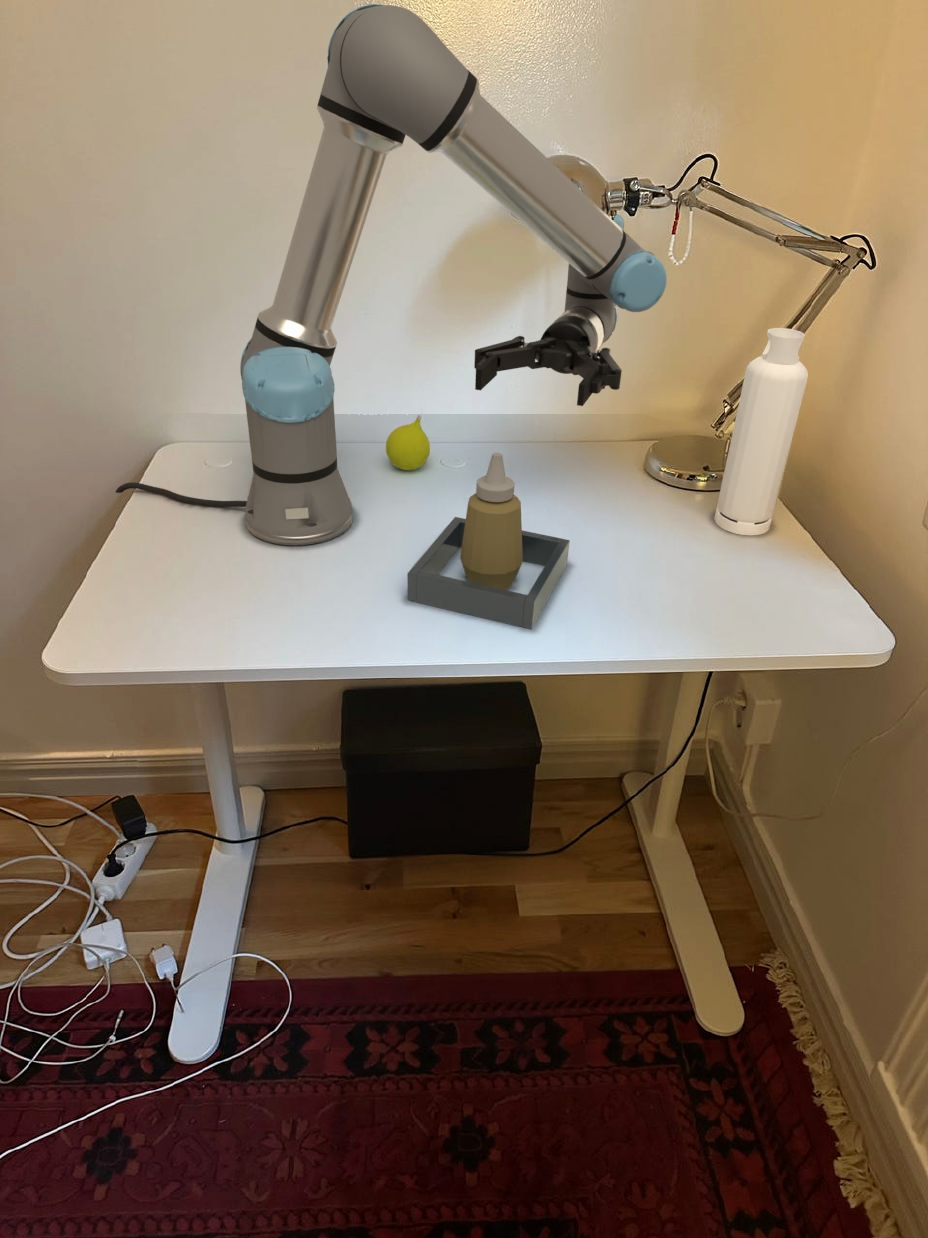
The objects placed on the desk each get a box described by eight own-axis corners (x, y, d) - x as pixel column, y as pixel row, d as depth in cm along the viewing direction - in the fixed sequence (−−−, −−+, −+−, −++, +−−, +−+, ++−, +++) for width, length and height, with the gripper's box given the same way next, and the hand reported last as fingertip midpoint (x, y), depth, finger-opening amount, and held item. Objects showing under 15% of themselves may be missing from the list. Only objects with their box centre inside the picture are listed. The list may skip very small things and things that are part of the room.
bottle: (772, 538, 128) (822, 344, 112) (715, 531, 129) (756, 339, 113) (767, 513, 134) (814, 327, 118) (713, 507, 135) (752, 321, 120)
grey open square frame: (407, 600, 111) (407, 573, 109) (454, 541, 124) (455, 516, 122) (531, 629, 107) (534, 601, 104) (567, 565, 119) (569, 539, 117)
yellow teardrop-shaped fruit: (438, 468, 144) (439, 410, 138) (406, 481, 140) (406, 421, 134) (409, 455, 148) (408, 397, 142) (377, 467, 144) (375, 408, 138)
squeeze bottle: (446, 582, 115) (449, 453, 105) (487, 560, 120) (494, 435, 110) (492, 606, 111) (500, 474, 100) (533, 582, 116) (544, 454, 105)
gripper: (653, 378, 127) (621, 430, 110) (489, 355, 134) (437, 401, 117) (661, 325, 123) (629, 371, 106) (491, 304, 129) (437, 344, 113)
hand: (528, 387), depth 112 cm, fingers open, 13 cm apart
